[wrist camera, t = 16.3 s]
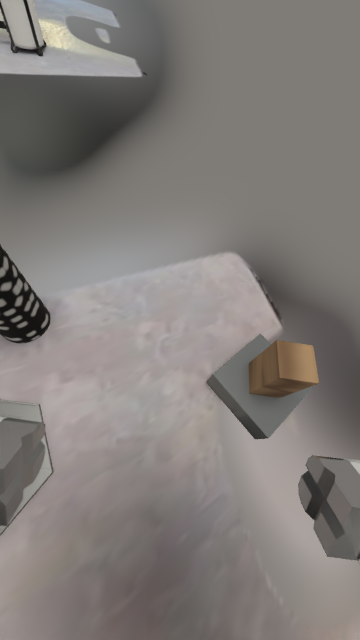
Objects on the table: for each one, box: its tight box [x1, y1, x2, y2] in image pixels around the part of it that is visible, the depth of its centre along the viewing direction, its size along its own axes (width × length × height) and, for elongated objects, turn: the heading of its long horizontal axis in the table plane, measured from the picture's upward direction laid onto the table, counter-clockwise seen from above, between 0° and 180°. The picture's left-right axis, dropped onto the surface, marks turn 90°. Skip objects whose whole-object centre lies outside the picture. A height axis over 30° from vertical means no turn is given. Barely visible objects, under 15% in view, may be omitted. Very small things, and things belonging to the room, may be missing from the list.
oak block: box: [249, 340, 319, 398], centre depth 35 cm, size 5×5×10 cm
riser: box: [207, 334, 313, 439], centre depth 42 cm, size 12×12×5 cm
